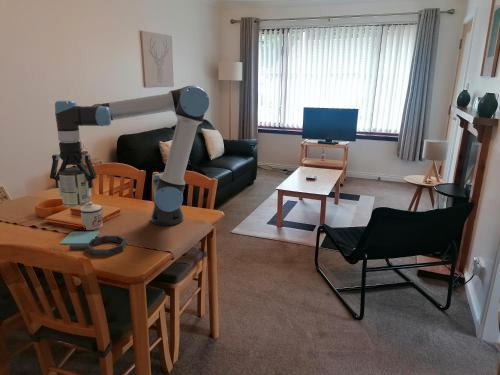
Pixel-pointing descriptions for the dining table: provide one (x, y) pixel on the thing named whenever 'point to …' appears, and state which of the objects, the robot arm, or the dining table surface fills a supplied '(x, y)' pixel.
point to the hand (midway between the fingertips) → (75, 195)
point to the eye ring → (98, 241)
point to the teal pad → (79, 237)
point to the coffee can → (73, 187)
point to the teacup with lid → (91, 216)
